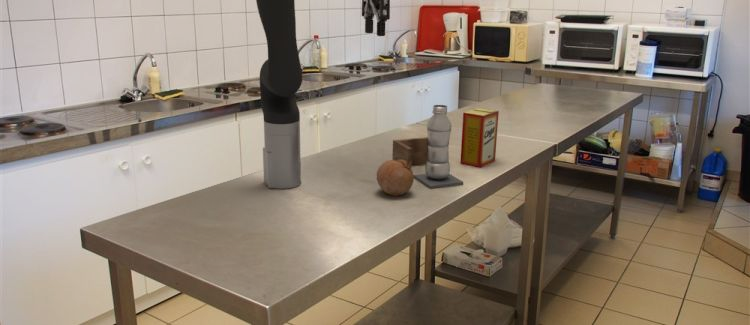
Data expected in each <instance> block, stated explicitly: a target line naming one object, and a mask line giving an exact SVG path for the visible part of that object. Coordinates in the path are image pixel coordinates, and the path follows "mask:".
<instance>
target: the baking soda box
mask: <svg viewBox="0 0 750 325" xmlns="http://www.w3.org/2000/svg"><path fill="white" fill-rule="evenodd" d="M499 113H500V112H499V110H495V109H489V108H483V107H477V108H474V109H471V110H468V111H465V112H463V113H462V115H463V116H462V128H461V149H460V160H459V161H460V162H459V163H460V165H462V166H463V165H464V166H468V167H473V168H477V169H480V168H483V167H485V166H487V165H490V164H492V163H495V162H496V153H497V136H498V127H499V126H498V124H499Z"/></svg>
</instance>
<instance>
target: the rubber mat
mask: <svg viewBox="0 0 750 325" xmlns="http://www.w3.org/2000/svg"><path fill="white" fill-rule="evenodd" d="M413 175H414V179H415V180H416V181H417V182H419V183H420V184H422V185H423V186H425V187H427V188H428V189H439V188H447V187H448V188H449V187H457V186H463V185H464V181H462V180H461V179H460V178H457V177H456V176H454V175H452V174H450V173H449V176H448V177H447V178H445V179H432V178H429V177H428V176H427V175H426V173H420V174H413Z"/></svg>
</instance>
